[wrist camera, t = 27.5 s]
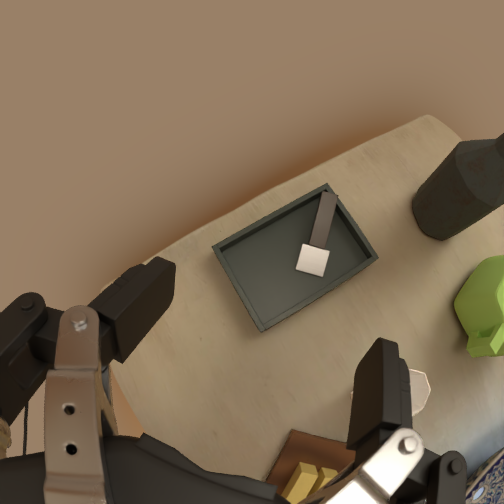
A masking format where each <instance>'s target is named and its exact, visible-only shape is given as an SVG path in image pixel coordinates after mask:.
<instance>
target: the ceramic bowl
mask: <svg viewBox="0 0 504 504" xmlns="http://www.w3.org/2000/svg"><path fill="white" fill-rule="evenodd" d="M482 487H485V490H484V492H483V494H482V495H481V496H480V497H479V498H478V499H476V500H473V497H474V495H475V493H476V492H477V491H478V490H479V489H480V488H482ZM465 504H504V448H502V449H501V450H499V451H498V452H497V453H495V454H494V455H493V456H492V457H490V458H489V459H488V460H487V461H486V462H485V463H484V464H482V465H481V466H480V467H479V468H478V469H477V470H476V471H475V472H474V474H473V475H472V476H471V477H470V478H469V479H468V480H467V482H466V501H465Z"/></svg>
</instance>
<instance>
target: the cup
mask: <svg viewBox="0 0 504 504" xmlns="http://www.w3.org/2000/svg"><path fill="white" fill-rule="evenodd" d="M408 369H409V368H408ZM409 373H410V386H411V392H410V394H411V401H412V417H413V416H414V415H416V414H417V413H418V412H420V411H421V410H423V409H424V406H425V404H426V401H427V399H428V396H429V394H430V391H431V388H430V385H429V382H428V380H427V377H426V374H425V373H424V372H420V371H416V370H413V369H409ZM352 398H353V391H352V392H351V399H352Z"/></svg>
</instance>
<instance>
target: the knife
mask: <svg viewBox="0 0 504 504" xmlns="http://www.w3.org/2000/svg"><path fill="white" fill-rule="evenodd" d="M337 199H338V195H336V194H332V193H329V192H325V191H322V193H321V197H320V201H319V205H318V209H317V213H316V216H315V220H314V224H313V228H312V232H311V236H310V239H309V243H308V245H307V244H302V248H301V252H300V255H299V259H298V262H297V266H296V270H299V271H303V272H306V273H310V274H313V275H317V276H320V277H323V274H324V270H325V267H326V263H327V260H328V256H329V252H330V251H328V250H324V249H325V247H326V243H327V240H328V236H329V232H330V228H331V224H332V220H333V216H334V212H335V208H336V204H337Z"/></svg>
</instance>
